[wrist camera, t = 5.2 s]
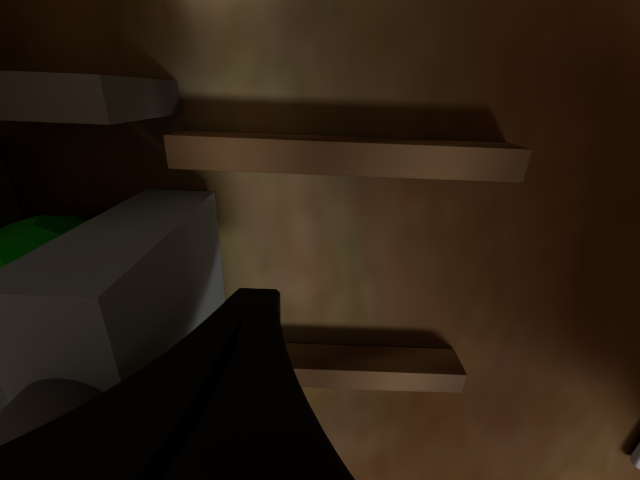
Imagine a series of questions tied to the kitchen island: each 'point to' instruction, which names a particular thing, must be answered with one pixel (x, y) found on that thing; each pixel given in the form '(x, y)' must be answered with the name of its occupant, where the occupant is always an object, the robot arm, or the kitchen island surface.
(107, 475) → the robot arm
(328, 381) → the pitch goal
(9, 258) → the polyhedron
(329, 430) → the kitchen island surface
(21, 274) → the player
